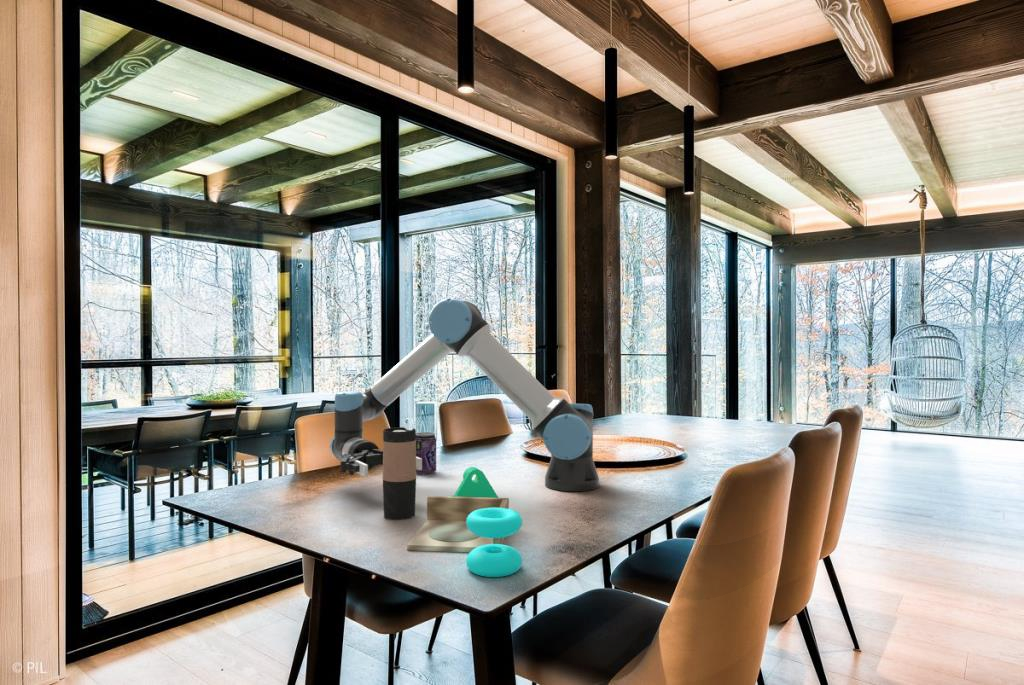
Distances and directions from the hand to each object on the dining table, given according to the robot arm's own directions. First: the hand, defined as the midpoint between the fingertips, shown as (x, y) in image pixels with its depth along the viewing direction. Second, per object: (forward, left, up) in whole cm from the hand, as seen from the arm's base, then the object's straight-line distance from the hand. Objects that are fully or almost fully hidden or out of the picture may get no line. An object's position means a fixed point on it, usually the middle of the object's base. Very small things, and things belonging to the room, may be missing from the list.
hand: (394, 467), depth 145 cm
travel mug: (-2, +1, -11) cm, 11 cm away
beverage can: (+3, -45, -11) cm, 46 cm away
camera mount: (-17, -7, -11) cm, 22 cm away
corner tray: (-19, +15, -11) cm, 26 cm away
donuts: (-28, +32, -11) cm, 44 cm away
